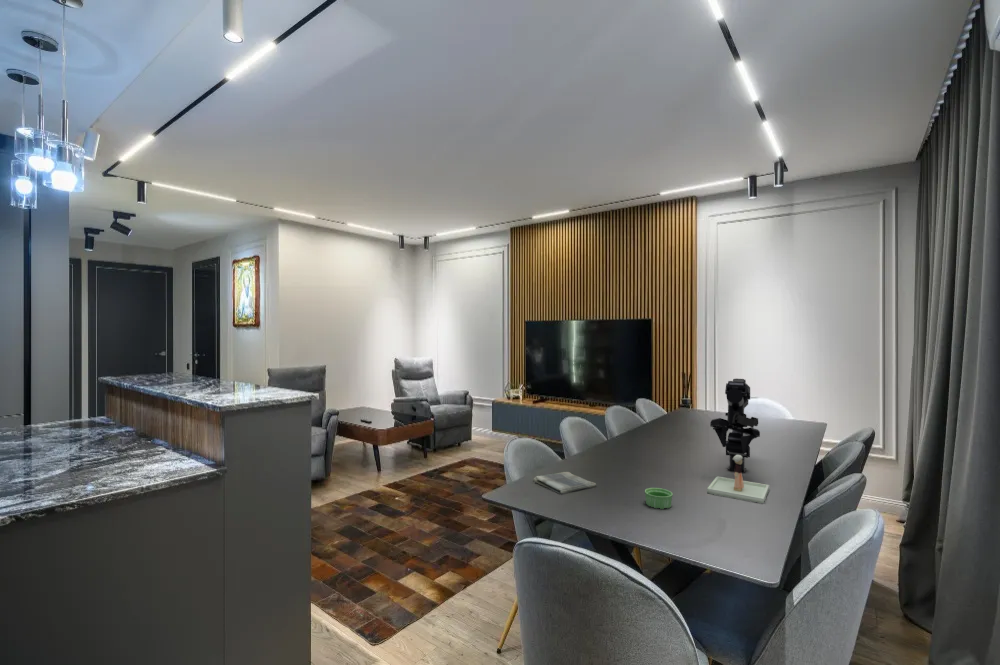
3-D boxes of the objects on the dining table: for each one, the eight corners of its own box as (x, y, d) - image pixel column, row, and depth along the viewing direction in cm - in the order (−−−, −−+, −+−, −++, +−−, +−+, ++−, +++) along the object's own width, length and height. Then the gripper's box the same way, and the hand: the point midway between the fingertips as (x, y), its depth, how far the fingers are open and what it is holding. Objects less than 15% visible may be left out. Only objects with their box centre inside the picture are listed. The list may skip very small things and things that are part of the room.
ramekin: (638, 502, 164) (639, 489, 164) (660, 499, 168) (660, 486, 168) (656, 511, 156) (656, 498, 156) (678, 508, 159) (678, 494, 159)
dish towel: (598, 488, 180) (598, 479, 180) (560, 496, 171) (560, 487, 171) (566, 475, 196) (566, 467, 196) (530, 482, 187) (530, 473, 187)
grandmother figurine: (745, 493, 172) (745, 457, 172) (733, 491, 173) (733, 456, 173) (742, 486, 179) (743, 452, 179) (731, 485, 181) (731, 451, 181)
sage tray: (716, 480, 189) (716, 476, 189) (769, 489, 178) (769, 485, 178) (707, 493, 174) (707, 488, 174) (763, 504, 164) (763, 498, 164)
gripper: (730, 401, 183) (728, 441, 177) (771, 414, 186) (770, 454, 181) (710, 406, 193) (708, 444, 188) (749, 418, 197) (748, 456, 191)
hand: (734, 449), depth 186 cm, fingers open, 9 cm apart
